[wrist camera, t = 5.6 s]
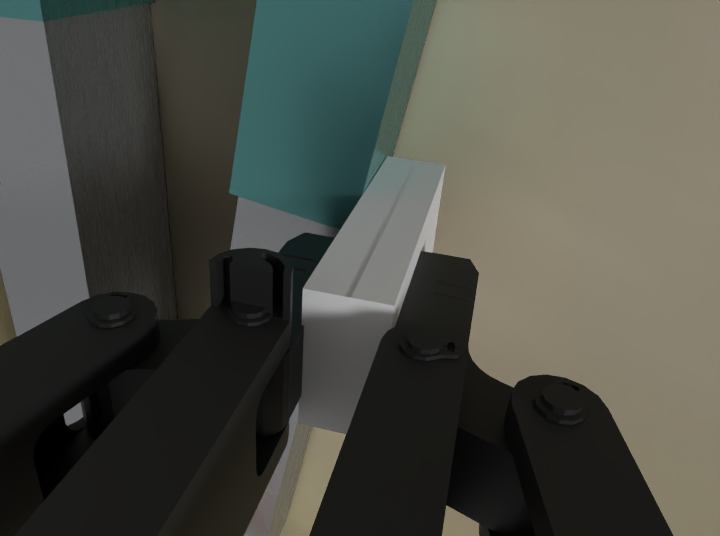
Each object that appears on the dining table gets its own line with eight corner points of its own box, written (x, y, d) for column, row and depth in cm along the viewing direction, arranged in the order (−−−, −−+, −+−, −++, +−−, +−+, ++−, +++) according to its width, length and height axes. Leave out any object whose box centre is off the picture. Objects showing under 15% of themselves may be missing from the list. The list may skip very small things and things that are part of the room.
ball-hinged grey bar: (227, 603, 28) (173, 723, 24) (126, 575, 29) (57, 687, 25) (180, -238, 14) (23, -320, 9) (-18, -245, 15) (-246, -322, 10)
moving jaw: (260, 622, 28) (197, 788, 22) (122, 568, 28) (26, 718, 23) (445, -28, 14) (396, -9, 9) (171, -108, 15) (-34, -135, 9)
